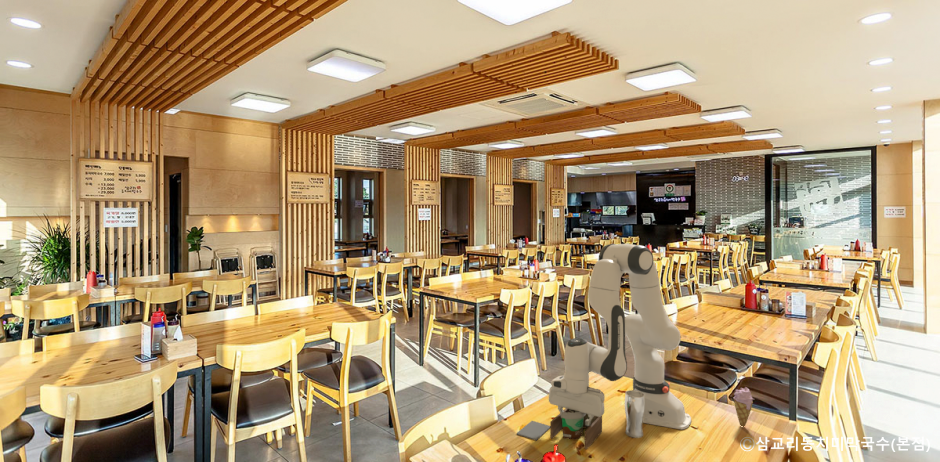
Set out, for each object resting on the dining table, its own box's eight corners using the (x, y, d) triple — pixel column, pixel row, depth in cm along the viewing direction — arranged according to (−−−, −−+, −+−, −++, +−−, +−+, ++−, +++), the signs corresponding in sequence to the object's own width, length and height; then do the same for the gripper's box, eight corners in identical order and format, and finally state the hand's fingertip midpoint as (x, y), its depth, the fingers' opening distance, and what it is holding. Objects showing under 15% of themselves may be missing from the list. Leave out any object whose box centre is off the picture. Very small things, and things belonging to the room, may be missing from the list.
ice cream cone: (757, 429, 170) (758, 390, 170) (745, 432, 168) (746, 392, 167) (740, 421, 176) (741, 383, 176) (729, 424, 174) (730, 386, 173)
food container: (577, 444, 159) (577, 416, 159) (560, 439, 163) (561, 412, 163) (591, 431, 169) (591, 404, 169) (575, 426, 173) (575, 400, 173)
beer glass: (621, 429, 171) (622, 389, 170) (640, 429, 170) (641, 390, 170) (627, 438, 164) (628, 397, 163) (647, 438, 163) (648, 397, 163)
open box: (601, 431, 169) (602, 415, 168) (586, 449, 156) (586, 432, 156) (567, 421, 177) (567, 406, 176) (550, 438, 164) (550, 421, 164)
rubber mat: (551, 427, 172) (551, 426, 172) (536, 440, 162) (536, 439, 162) (532, 421, 177) (532, 420, 177) (516, 434, 167) (516, 433, 167)
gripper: (607, 388, 162) (606, 426, 162) (554, 375, 174) (553, 411, 174) (601, 393, 157) (600, 433, 157) (547, 380, 169) (546, 417, 169)
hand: (575, 421), depth 166 cm, fingers open, 8 cm apart
